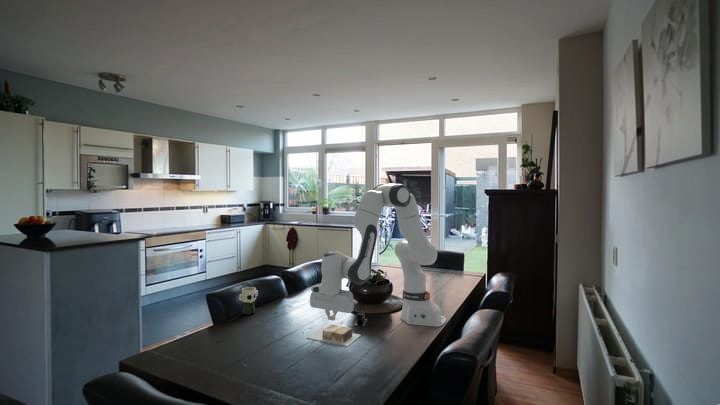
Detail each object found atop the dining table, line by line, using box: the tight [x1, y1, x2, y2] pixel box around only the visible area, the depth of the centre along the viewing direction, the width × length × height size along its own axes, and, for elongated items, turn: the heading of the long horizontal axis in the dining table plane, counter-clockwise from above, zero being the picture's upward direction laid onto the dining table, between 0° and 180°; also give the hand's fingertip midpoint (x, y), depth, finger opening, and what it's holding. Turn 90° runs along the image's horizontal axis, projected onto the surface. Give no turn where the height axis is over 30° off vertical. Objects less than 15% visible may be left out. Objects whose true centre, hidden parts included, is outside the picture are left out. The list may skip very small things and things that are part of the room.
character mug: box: [238, 286, 259, 315], centre depth 194 cm, size 11×7×13 cm, turn 140°
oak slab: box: [323, 324, 353, 343], centre depth 162 cm, size 4×8×10 cm
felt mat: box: [306, 327, 362, 347], centre depth 163 cm, size 20×13×1 cm, turn 65°
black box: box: [352, 312, 369, 327], centre depth 183 cm, size 12×7×5 cm, turn 167°
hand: (331, 319), depth 163 cm, fingers closed
